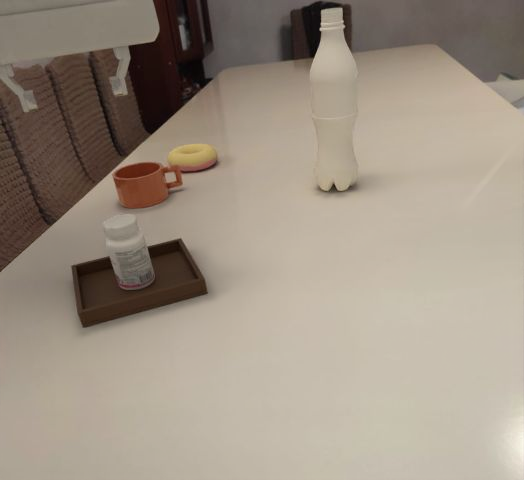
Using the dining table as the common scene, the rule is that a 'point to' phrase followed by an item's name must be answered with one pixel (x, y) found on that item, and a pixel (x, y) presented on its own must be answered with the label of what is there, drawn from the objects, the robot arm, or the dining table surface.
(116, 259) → the pill bottle
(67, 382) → the dining table surface
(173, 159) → the donut
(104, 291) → the tray
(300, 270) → the dining table surface
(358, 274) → the dining table surface
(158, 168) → the mug
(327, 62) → the water bottle
